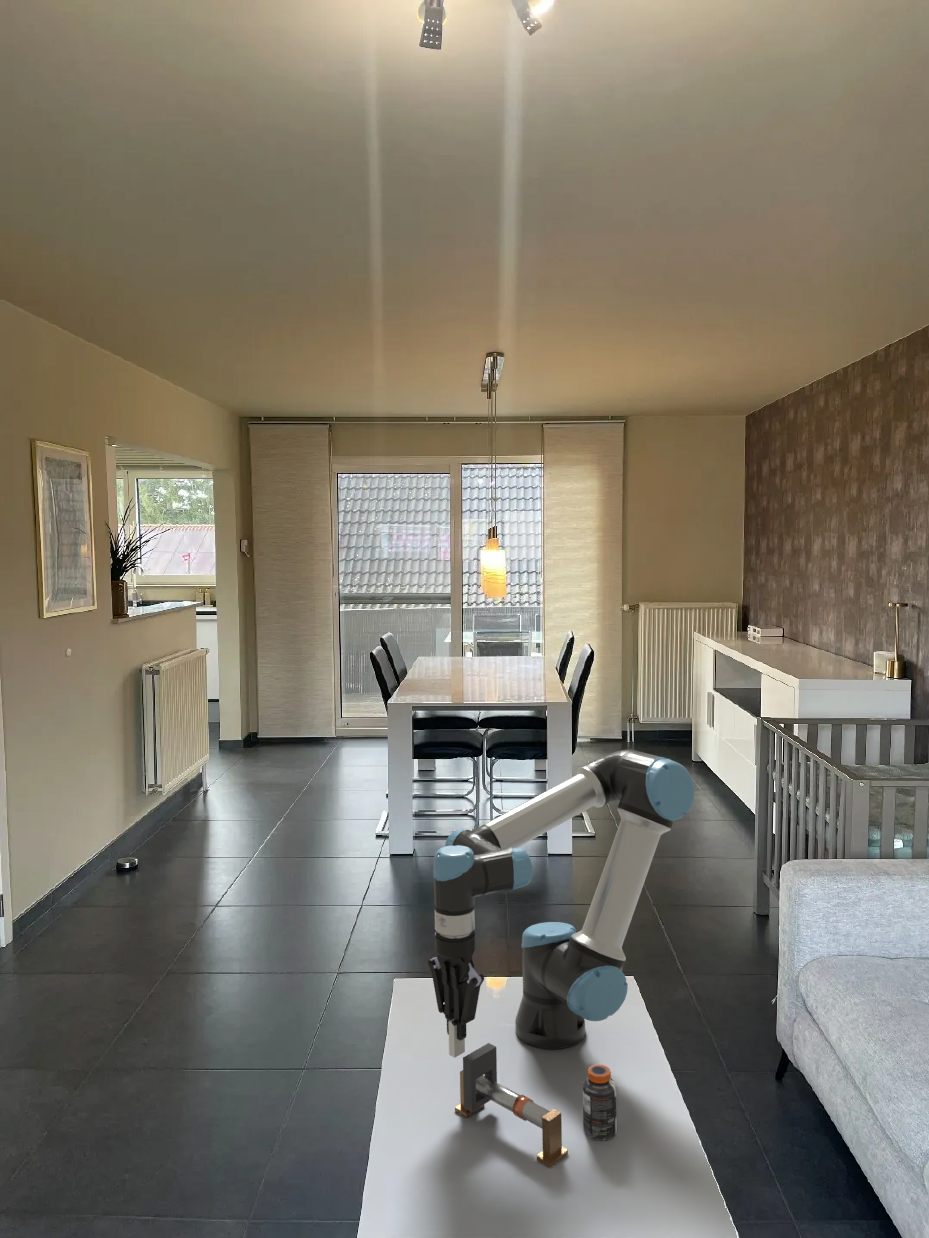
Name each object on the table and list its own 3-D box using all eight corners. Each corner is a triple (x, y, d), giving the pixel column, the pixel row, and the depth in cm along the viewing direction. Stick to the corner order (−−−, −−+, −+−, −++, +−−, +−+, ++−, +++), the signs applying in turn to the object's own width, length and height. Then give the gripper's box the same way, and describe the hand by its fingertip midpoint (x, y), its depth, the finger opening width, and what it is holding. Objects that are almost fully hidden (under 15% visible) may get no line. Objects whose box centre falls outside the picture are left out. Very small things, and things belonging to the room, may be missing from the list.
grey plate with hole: (463, 1107, 160) (462, 1057, 160) (489, 1091, 165) (488, 1042, 164) (471, 1112, 159) (470, 1061, 158) (497, 1095, 164) (496, 1046, 163)
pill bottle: (621, 1126, 158) (621, 1065, 157) (609, 1145, 153) (609, 1082, 152) (590, 1116, 161) (590, 1056, 160) (578, 1135, 156) (577, 1073, 155)
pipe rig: (454, 1110, 163) (454, 1070, 163) (472, 1099, 167) (472, 1060, 166) (550, 1167, 147) (549, 1123, 147) (568, 1154, 151) (567, 1110, 150)
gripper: (416, 927, 166) (419, 1048, 168) (465, 947, 157) (467, 1075, 158) (445, 915, 172) (447, 1033, 173) (493, 934, 162) (495, 1058, 164)
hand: (457, 1053), depth 166 cm, fingers closed
